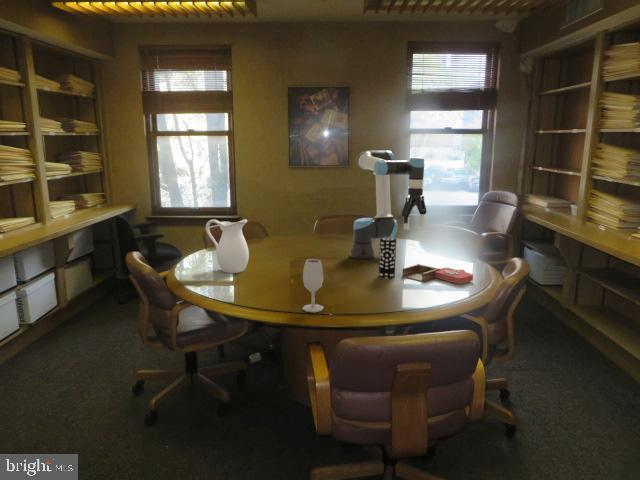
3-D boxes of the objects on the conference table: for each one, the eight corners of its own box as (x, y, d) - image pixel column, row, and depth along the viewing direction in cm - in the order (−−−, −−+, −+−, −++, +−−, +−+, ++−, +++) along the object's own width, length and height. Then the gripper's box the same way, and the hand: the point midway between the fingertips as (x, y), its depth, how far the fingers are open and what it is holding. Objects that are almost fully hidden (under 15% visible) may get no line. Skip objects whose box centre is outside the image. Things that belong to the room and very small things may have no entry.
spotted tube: (394, 278, 245) (395, 240, 241) (378, 277, 246) (379, 240, 242) (395, 274, 253) (396, 237, 249) (379, 273, 254) (380, 236, 250)
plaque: (478, 272, 241) (459, 277, 232) (478, 279, 242) (459, 285, 233) (450, 265, 255) (431, 269, 246) (449, 272, 256) (431, 276, 247)
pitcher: (254, 268, 263) (253, 218, 257) (239, 276, 247) (238, 223, 242) (216, 264, 270) (214, 216, 265) (200, 271, 255) (197, 220, 249)
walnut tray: (402, 276, 248) (402, 268, 247) (417, 272, 258) (418, 264, 257) (423, 282, 239) (424, 273, 238) (439, 277, 248) (439, 268, 247)
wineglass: (310, 304, 205) (310, 257, 201) (327, 308, 200) (328, 260, 196) (298, 310, 198) (298, 261, 194) (315, 314, 193) (315, 264, 189)
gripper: (408, 189, 236) (406, 231, 240) (434, 186, 254) (432, 225, 258) (395, 188, 241) (394, 229, 245) (422, 185, 259) (420, 224, 263)
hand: (413, 227), depth 252 cm, fingers open, 13 cm apart
